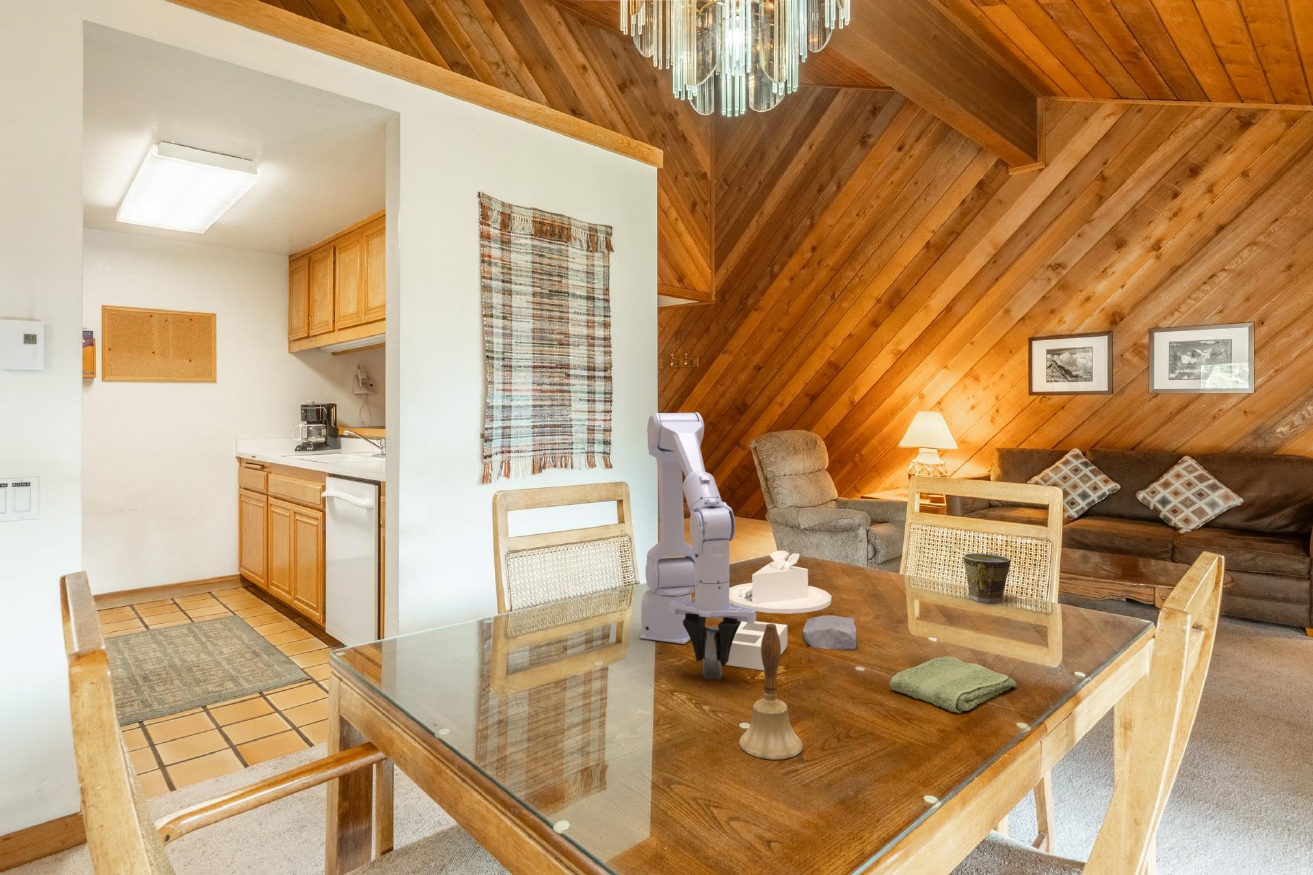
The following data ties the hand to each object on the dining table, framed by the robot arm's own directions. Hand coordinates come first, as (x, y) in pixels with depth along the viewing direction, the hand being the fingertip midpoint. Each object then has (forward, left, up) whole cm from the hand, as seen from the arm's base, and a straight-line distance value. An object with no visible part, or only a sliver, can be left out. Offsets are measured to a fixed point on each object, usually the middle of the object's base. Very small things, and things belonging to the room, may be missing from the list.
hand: (712, 660), depth 117 cm
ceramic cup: (+43, +69, -3) cm, 81 cm away
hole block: (+3, +13, -3) cm, 14 cm away
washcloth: (+37, +10, -3) cm, 38 cm away
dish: (-2, +53, -3) cm, 53 cm away
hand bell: (+15, -20, -3) cm, 25 cm away
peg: (0, 0, -3) cm, 3 cm away
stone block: (+15, +27, -3) cm, 31 cm away
